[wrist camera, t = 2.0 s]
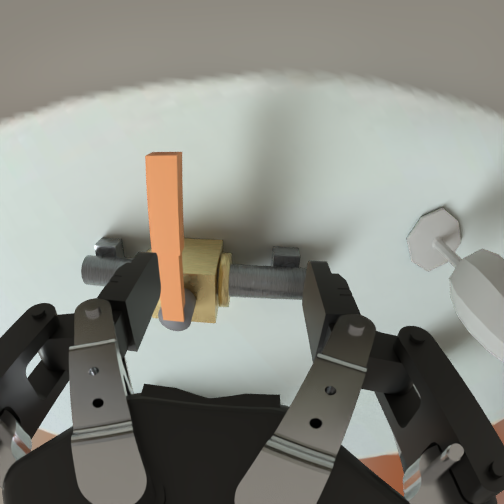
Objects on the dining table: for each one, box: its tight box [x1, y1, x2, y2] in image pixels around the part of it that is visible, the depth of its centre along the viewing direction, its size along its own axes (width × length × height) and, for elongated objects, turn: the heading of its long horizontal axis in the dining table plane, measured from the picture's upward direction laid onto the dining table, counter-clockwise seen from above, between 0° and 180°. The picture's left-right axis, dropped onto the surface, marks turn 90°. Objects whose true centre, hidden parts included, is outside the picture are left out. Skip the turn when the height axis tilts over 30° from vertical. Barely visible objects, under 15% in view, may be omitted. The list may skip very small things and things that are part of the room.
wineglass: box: [406, 208, 504, 363], centre depth 27 cm, size 9×9×21 cm
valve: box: [81, 238, 306, 323], centre depth 35 cm, size 26×6×8 cm, turn 87°
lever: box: [145, 152, 196, 331], centre depth 26 cm, size 17×3×4 cm, turn 177°
